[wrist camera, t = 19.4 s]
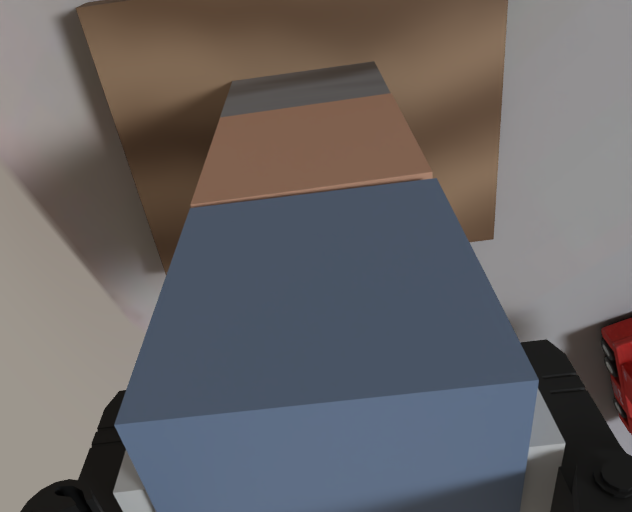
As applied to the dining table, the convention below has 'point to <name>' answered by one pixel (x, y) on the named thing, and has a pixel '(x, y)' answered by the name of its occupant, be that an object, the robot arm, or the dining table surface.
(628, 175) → the dining table surface
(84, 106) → the dining table surface
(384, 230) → the slate blue brick
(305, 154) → the terracotta brick
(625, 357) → the toy fire truck
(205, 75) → the board
